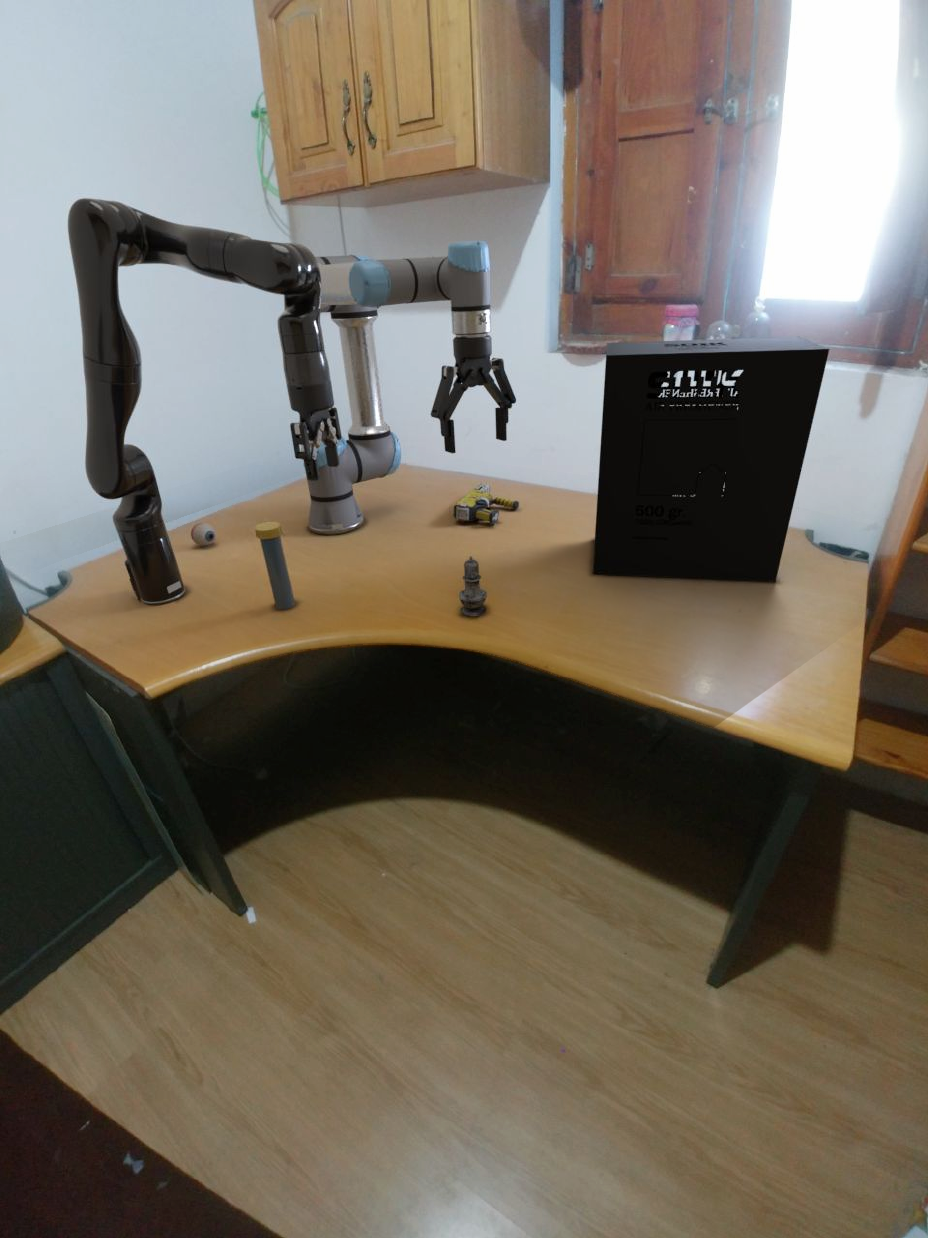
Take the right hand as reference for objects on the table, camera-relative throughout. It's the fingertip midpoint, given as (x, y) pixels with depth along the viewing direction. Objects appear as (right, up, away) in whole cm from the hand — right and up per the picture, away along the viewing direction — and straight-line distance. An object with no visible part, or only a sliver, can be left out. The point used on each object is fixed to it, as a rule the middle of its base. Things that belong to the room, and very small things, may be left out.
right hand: (476, 445), depth 127 cm
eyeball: (-71, -17, +34) cm, 81 cm away
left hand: (-29, -10, -16) cm, 34 cm away
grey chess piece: (-1, -35, -4) cm, 35 cm away
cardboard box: (+47, -23, +12) cm, 53 cm away
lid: (-42, -18, -7) cm, 46 cm away
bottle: (-41, -34, +2) cm, 53 cm away
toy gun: (+5, -6, +46) cm, 46 cm away
